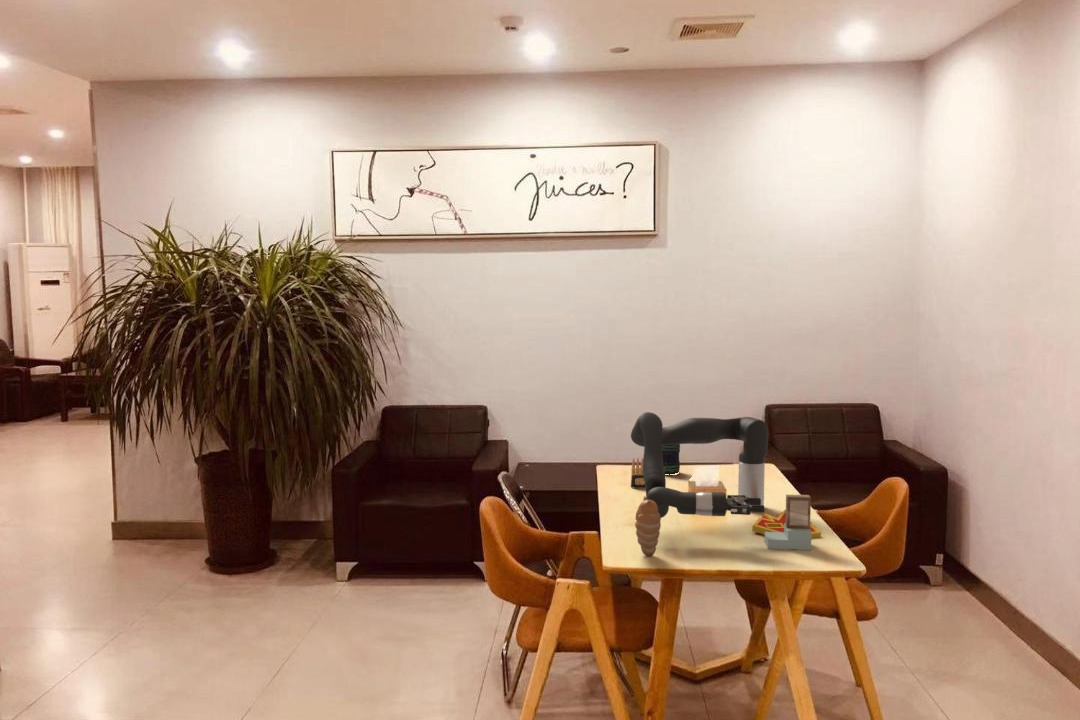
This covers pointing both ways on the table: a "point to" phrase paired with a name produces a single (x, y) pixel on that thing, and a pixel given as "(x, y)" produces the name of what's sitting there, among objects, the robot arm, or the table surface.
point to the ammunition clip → (637, 474)
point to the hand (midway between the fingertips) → (762, 505)
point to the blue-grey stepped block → (789, 539)
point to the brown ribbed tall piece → (648, 526)
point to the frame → (798, 511)
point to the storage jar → (671, 458)
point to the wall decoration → (777, 525)
